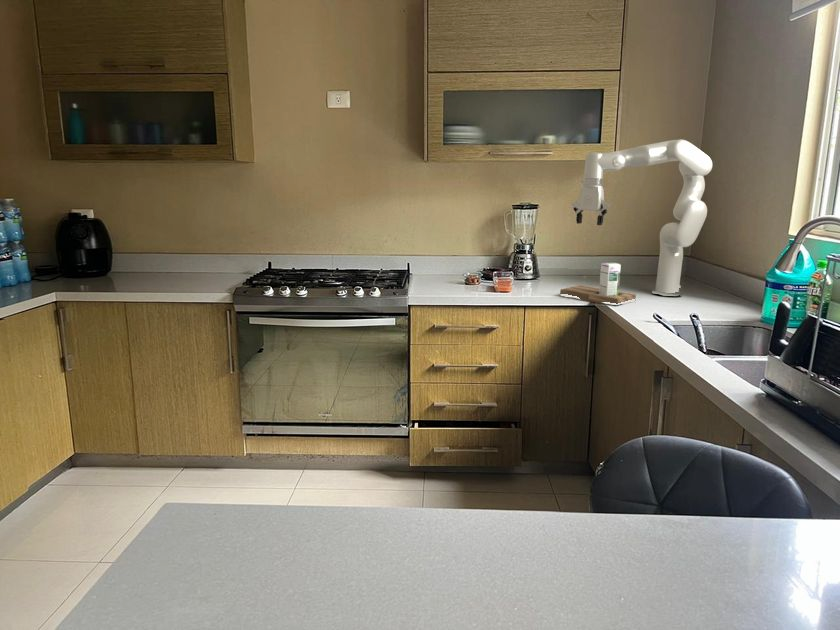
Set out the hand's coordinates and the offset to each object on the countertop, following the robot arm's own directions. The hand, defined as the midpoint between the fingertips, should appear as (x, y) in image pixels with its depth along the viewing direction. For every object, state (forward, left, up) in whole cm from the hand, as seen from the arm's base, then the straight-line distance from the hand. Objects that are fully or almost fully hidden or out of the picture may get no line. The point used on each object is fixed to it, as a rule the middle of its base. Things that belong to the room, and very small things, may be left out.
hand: (589, 224), depth 260 cm
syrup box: (+4, +14, -29) cm, 33 cm away
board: (+4, +9, -30) cm, 32 cm away
